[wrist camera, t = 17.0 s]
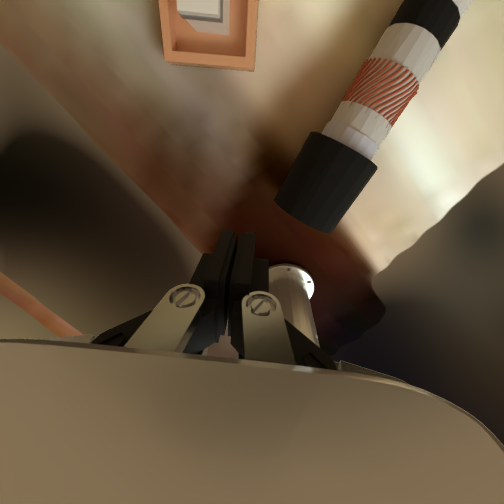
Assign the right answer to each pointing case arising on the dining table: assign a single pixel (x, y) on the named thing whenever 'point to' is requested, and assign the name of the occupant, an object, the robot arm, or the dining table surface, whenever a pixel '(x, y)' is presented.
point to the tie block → (206, 15)
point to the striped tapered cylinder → (367, 114)
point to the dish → (211, 38)
